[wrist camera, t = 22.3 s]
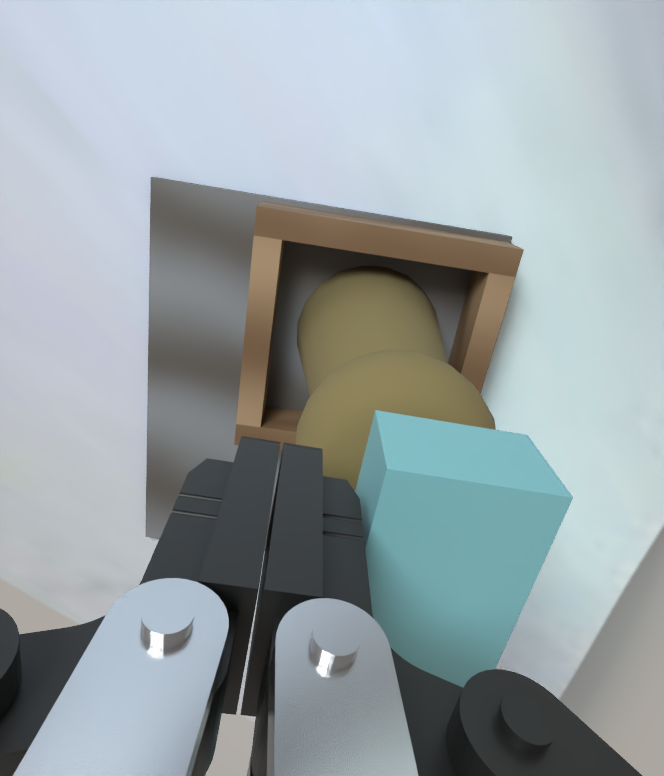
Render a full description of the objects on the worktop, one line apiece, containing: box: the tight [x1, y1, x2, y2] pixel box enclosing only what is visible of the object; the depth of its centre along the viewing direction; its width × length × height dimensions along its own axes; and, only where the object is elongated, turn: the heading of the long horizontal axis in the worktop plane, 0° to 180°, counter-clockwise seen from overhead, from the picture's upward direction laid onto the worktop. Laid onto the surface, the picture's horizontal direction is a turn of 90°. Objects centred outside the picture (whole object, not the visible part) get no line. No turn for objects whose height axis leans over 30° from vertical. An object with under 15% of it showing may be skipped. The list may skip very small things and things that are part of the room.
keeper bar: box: [355, 410, 573, 688], centre depth 12 cm, size 14×4×2 cm, turn 169°
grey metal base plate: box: [146, 177, 523, 550], centre depth 22 cm, size 17×14×2 cm
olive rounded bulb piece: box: [296, 265, 496, 491], centre depth 17 cm, size 6×6×11 cm
